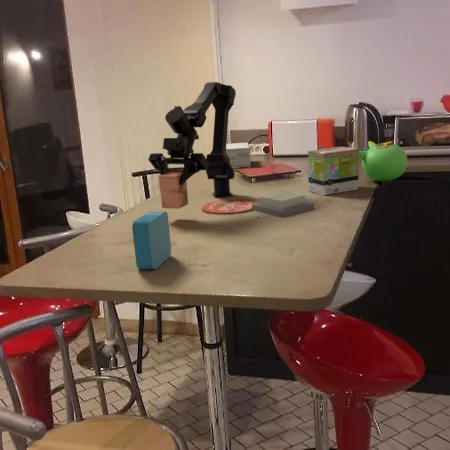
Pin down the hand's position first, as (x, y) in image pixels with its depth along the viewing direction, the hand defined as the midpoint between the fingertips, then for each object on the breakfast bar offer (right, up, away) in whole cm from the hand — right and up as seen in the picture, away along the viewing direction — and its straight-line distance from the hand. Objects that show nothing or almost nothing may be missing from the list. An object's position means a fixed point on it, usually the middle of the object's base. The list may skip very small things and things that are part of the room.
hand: (171, 184), depth 183 cm
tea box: (+55, 0, +29) cm, 62 cm away
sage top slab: (+35, -6, +8) cm, 36 cm away
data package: (-1, -22, -35) cm, 42 cm away
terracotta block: (+1, -6, +3) cm, 7 cm away
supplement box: (+22, +15, +95) cm, 99 cm away
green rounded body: (+75, +4, +40) cm, 85 cm away
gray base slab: (+35, -8, +8) cm, 37 cm away
